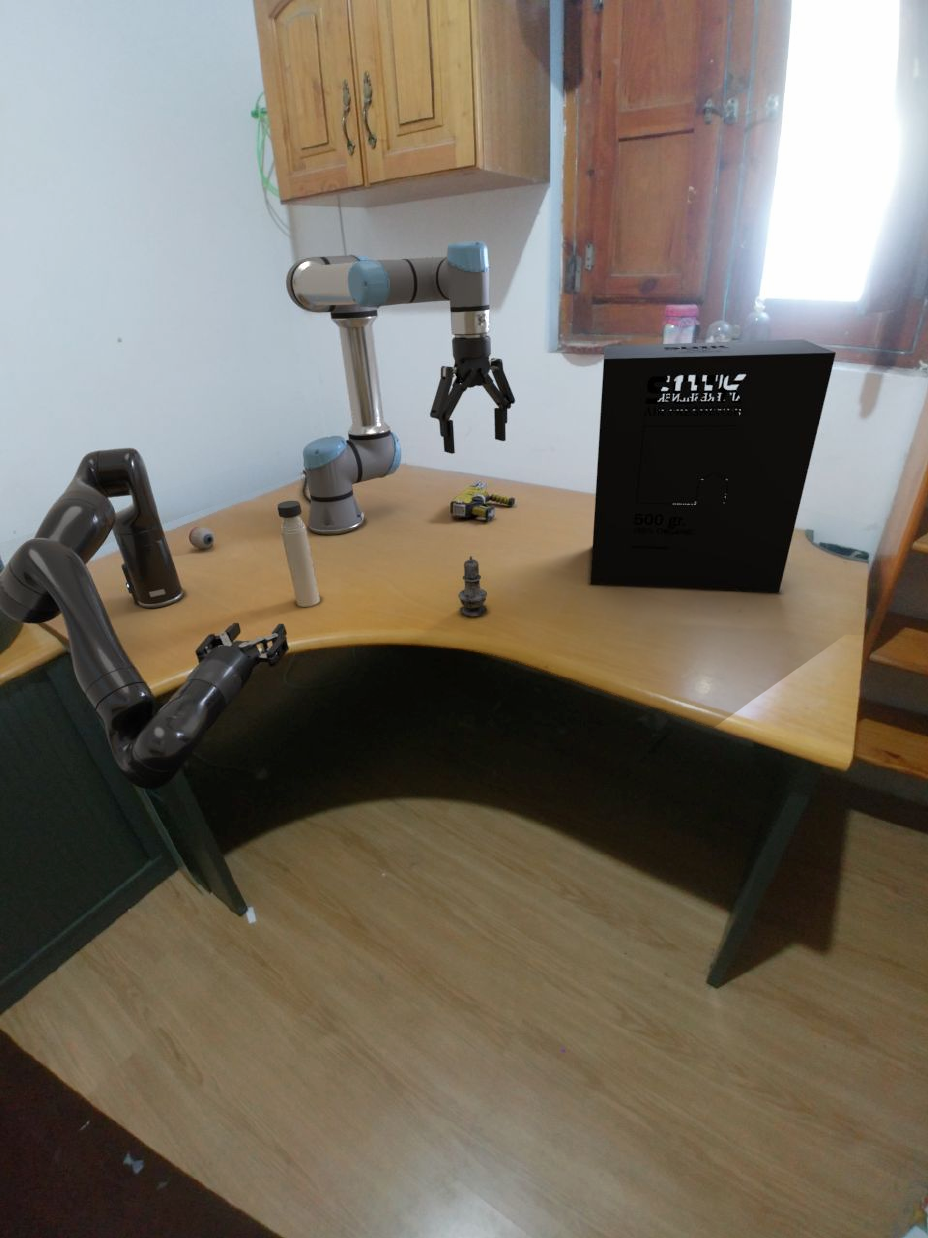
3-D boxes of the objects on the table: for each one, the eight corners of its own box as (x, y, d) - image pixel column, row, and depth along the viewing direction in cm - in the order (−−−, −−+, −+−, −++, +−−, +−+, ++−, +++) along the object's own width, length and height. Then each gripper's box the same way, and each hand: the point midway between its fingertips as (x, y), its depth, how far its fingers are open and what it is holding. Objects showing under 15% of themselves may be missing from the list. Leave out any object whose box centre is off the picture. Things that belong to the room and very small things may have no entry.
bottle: (314, 594, 133) (296, 500, 122) (323, 602, 130) (305, 506, 119) (293, 600, 131) (272, 505, 120) (301, 609, 127) (281, 512, 116)
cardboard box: (758, 552, 140) (802, 339, 117) (778, 592, 123) (835, 352, 100) (592, 546, 147) (604, 345, 125) (590, 583, 130) (603, 358, 108)
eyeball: (203, 554, 156) (196, 532, 153) (187, 550, 159) (181, 528, 156) (222, 546, 160) (216, 524, 157) (206, 542, 163) (200, 521, 160)
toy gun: (523, 485, 181) (476, 478, 185) (501, 509, 161) (448, 500, 165) (521, 500, 184) (475, 493, 187) (499, 525, 163) (447, 517, 167)
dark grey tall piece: (485, 617, 120) (483, 562, 114) (456, 616, 121) (452, 561, 115) (490, 603, 125) (488, 550, 119) (462, 602, 126) (459, 549, 120)
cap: (297, 508, 123) (295, 498, 122) (305, 514, 120) (303, 504, 119) (276, 513, 121) (273, 503, 120) (283, 519, 118) (281, 509, 117)
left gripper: (182, 697, 98) (228, 643, 111) (265, 701, 96) (301, 645, 109) (168, 659, 94) (218, 608, 108) (254, 661, 92) (294, 609, 106)
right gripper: (428, 343, 108) (437, 461, 118) (531, 329, 120) (531, 437, 131) (406, 341, 113) (416, 454, 124) (507, 328, 125) (508, 432, 136)
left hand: (260, 627), depth 109 cm, fingers open, 8 cm apart
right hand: (475, 446), depth 127 cm, fingers open, 13 cm apart
